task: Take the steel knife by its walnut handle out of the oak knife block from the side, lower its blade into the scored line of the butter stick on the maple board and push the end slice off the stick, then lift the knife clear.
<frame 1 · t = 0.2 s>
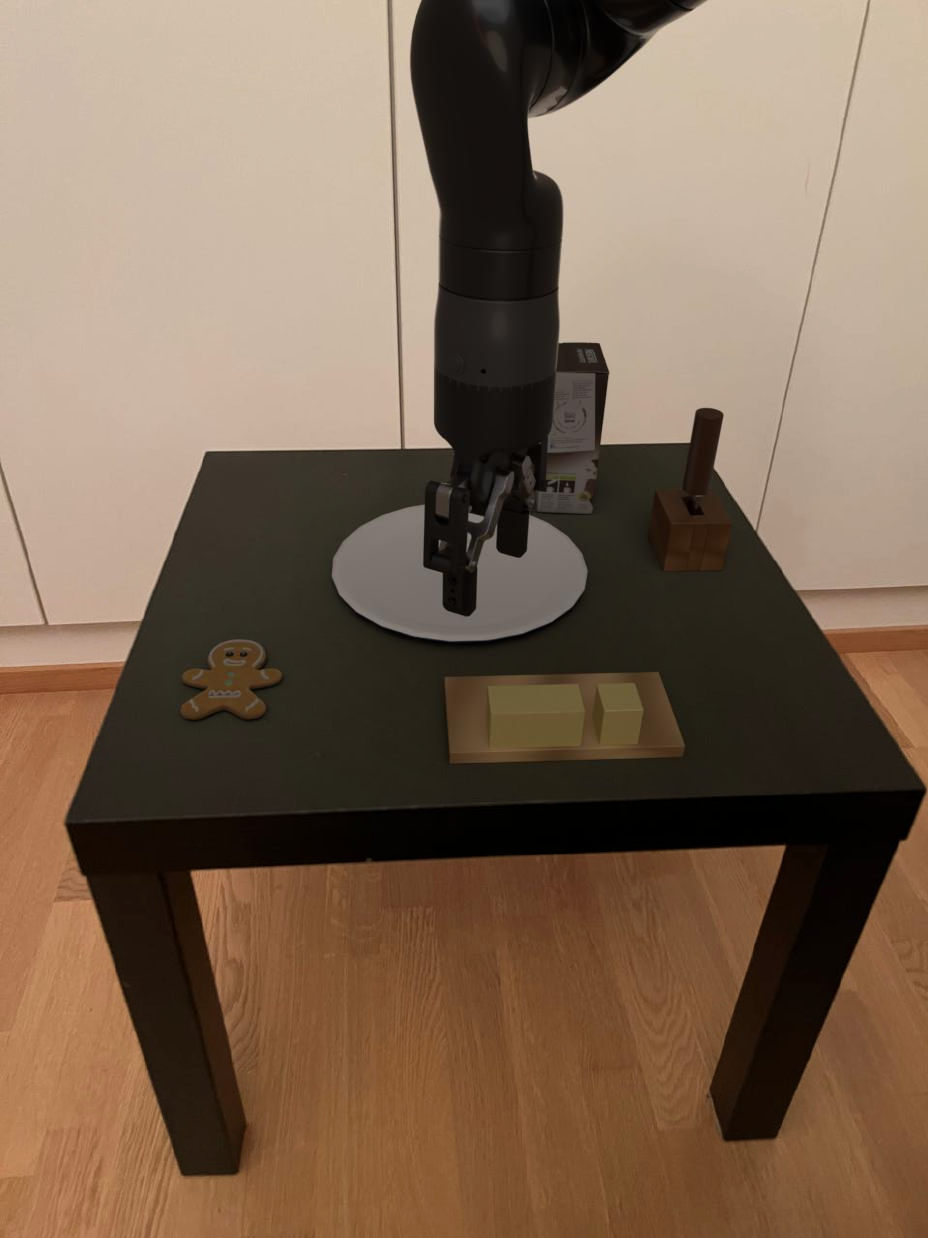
hand: (486, 580, 67), 14 cm above the table, tool pointing down, fingers open, 8 cm apart
knife block: (684, 552, 97), on the table
plate: (459, 574, 94), on the table
butter slice: (614, 730, 73), point 1 cm above the table, touching cutting board
butter: (532, 733, 73), point 1 cm above the table, touching cutting board
cookie: (232, 683, 79), on the table
cutting board: (558, 721, 76), on the table
knife: (696, 486, 93), in the knife block
coffee box: (562, 496, 107), on the table
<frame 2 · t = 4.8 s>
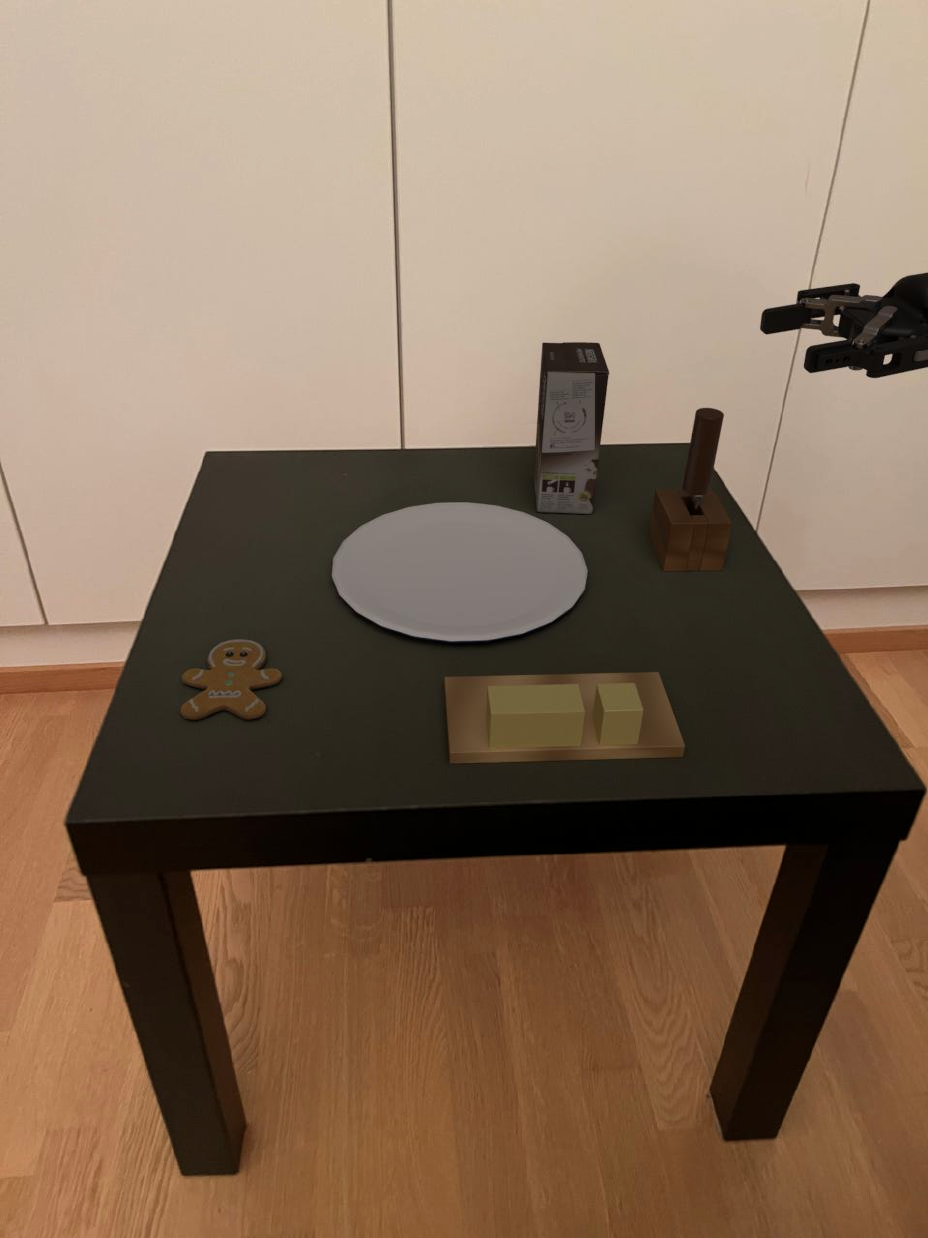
hand: (783, 340, 84), 23 cm above the table, tool horizontal, fingers open, 8 cm apart
nothing on the table moved.
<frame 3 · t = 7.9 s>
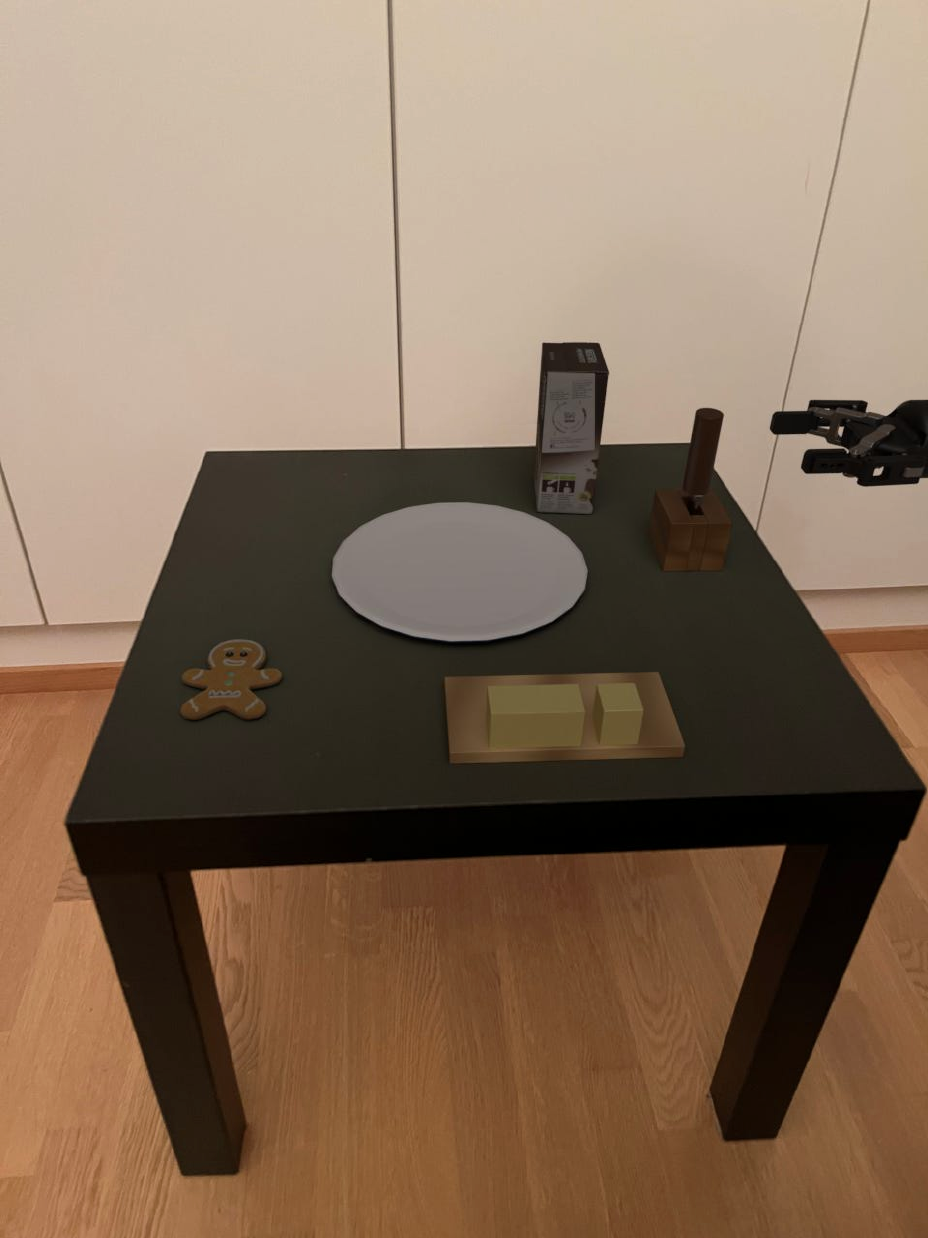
hand: (787, 441, 91), 12 cm above the table, tool horizontal, fingers open, 8 cm apart
nothing on the table moved.
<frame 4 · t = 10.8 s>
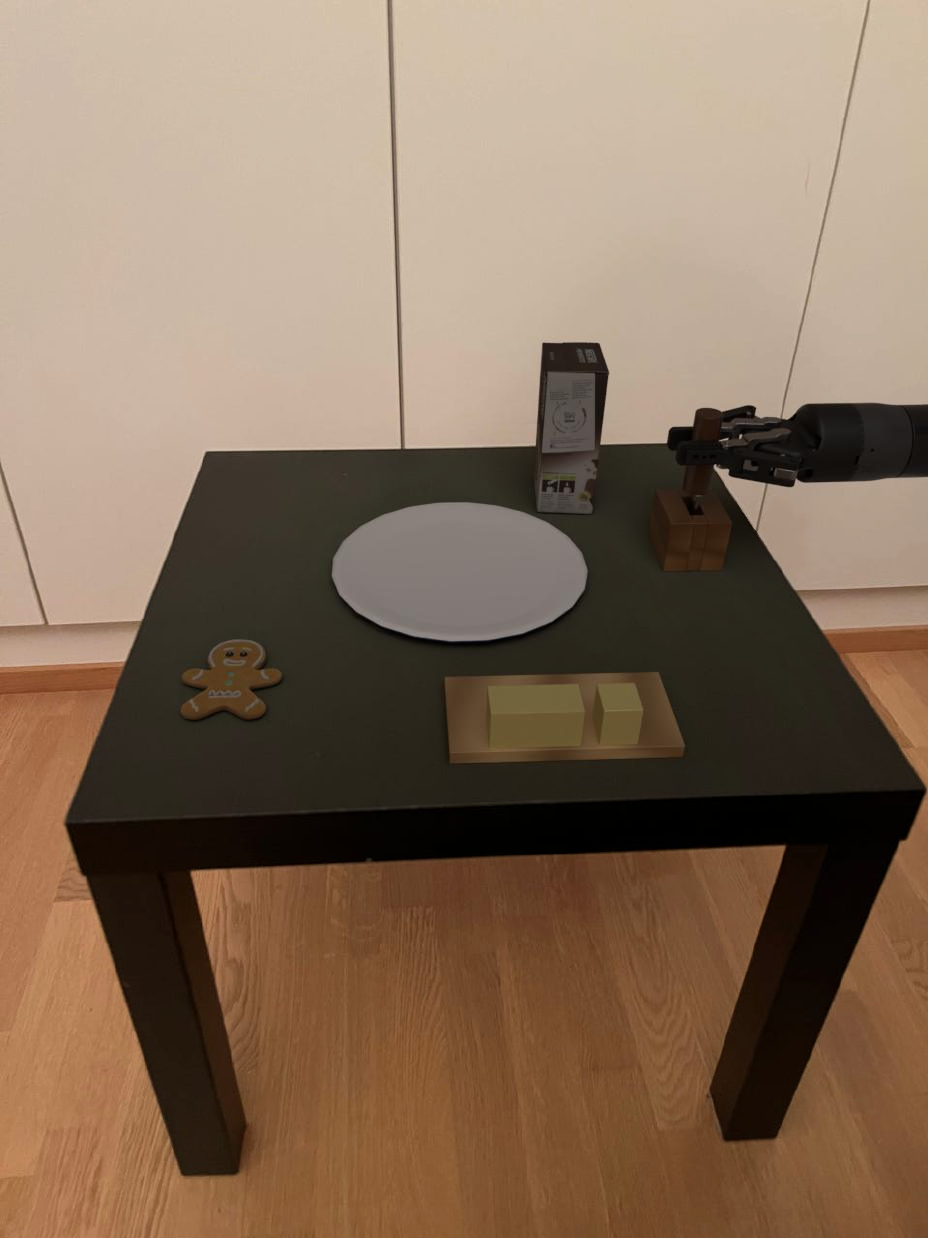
hand: (673, 446, 90), 12 cm above the table, tool horizontal, fingers closed on knife, 2 cm apart
knife: (696, 486, 93), in the knife block, touching gripper
everything else where it was.
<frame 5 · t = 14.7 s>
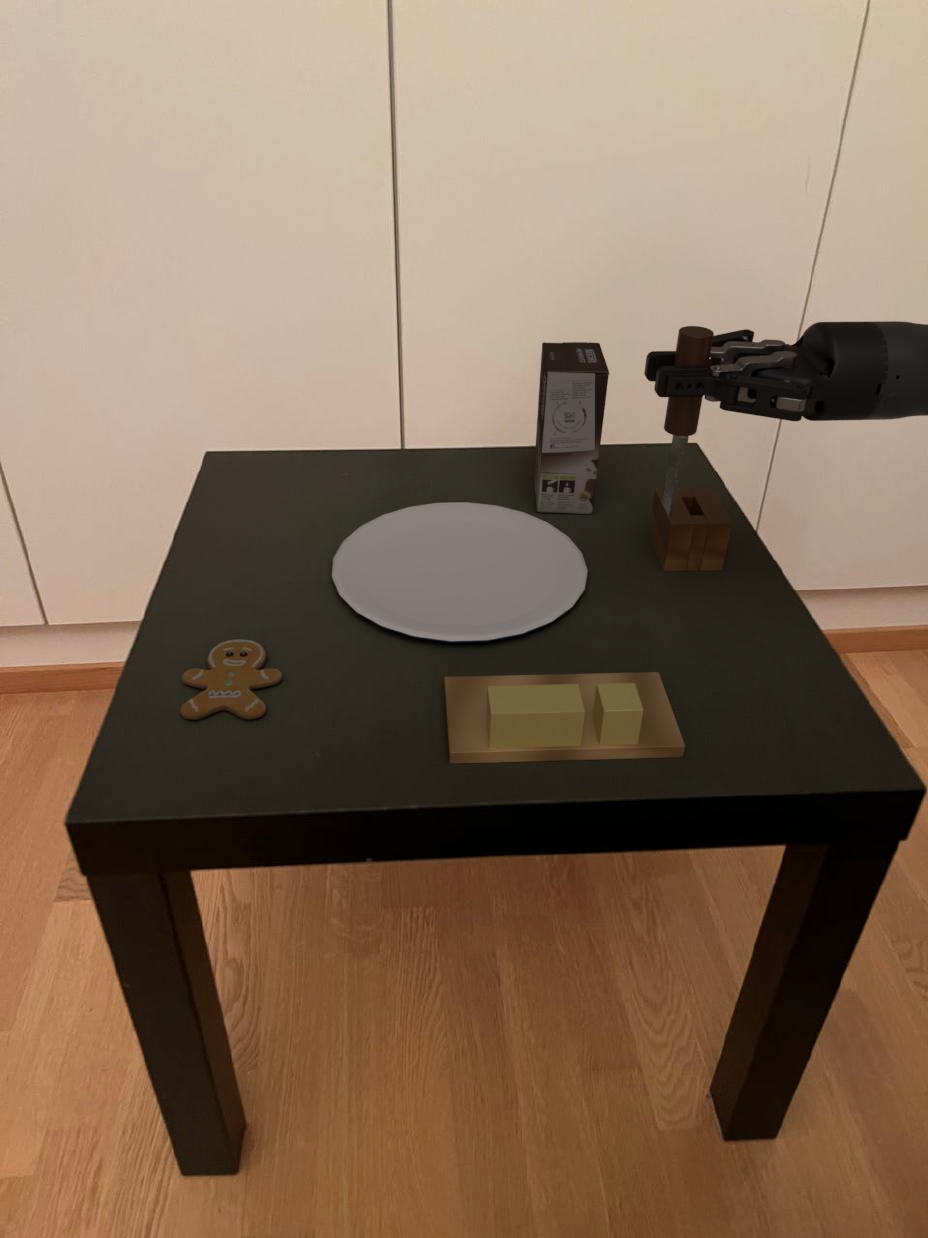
hand: (652, 374, 73), 24 cm above the table, tool horizontal, fingers closed on knife, 2 cm apart
knife: (680, 425, 76), point 19 cm above the table, touching gripper
everything else where it was.
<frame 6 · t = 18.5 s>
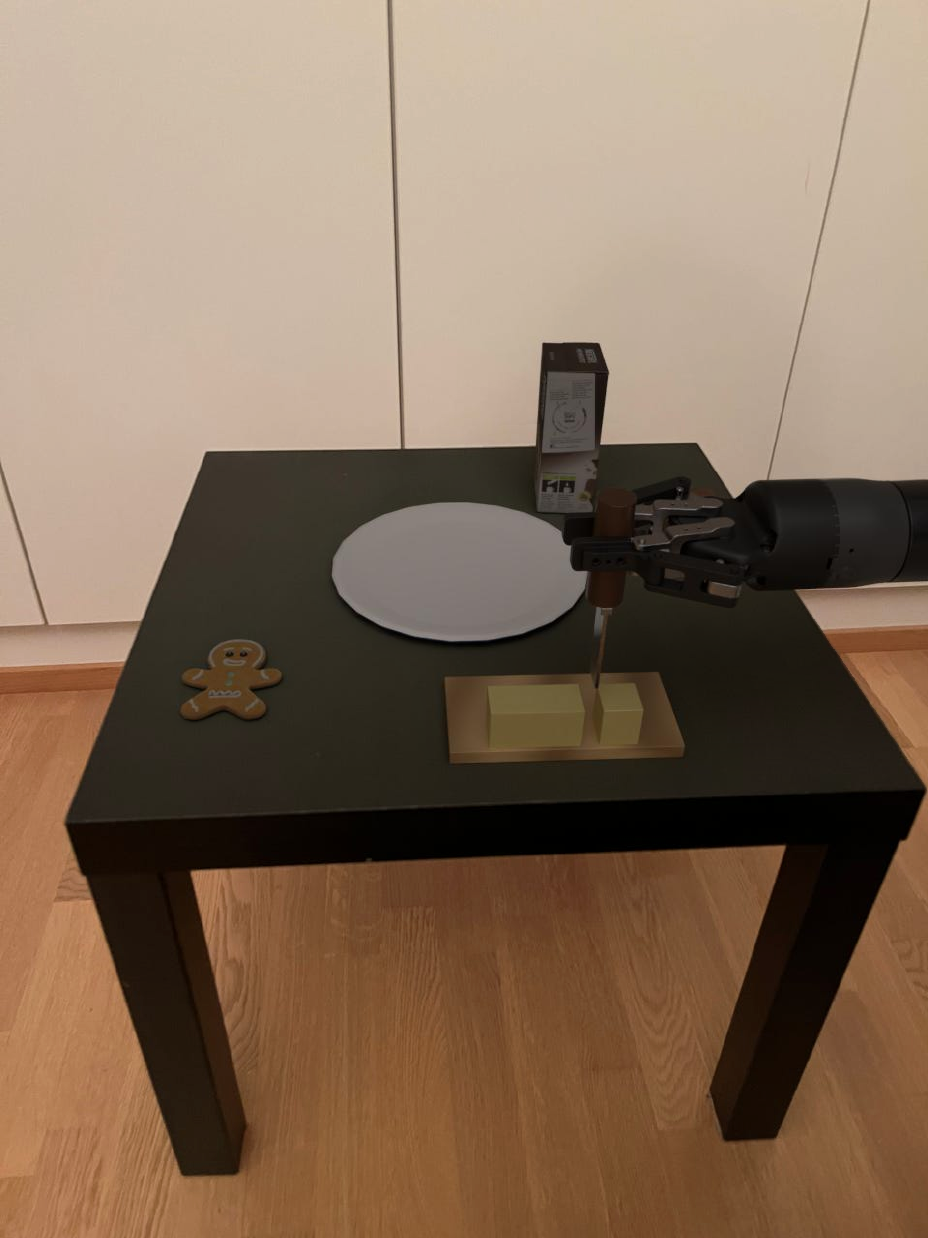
hand: (568, 541, 63), 18 cm above the table, tool horizontal, fingers closed on knife, 2 cm apart
knife: (604, 593, 66), point 14 cm above the table, touching gripper
everything else where it was.
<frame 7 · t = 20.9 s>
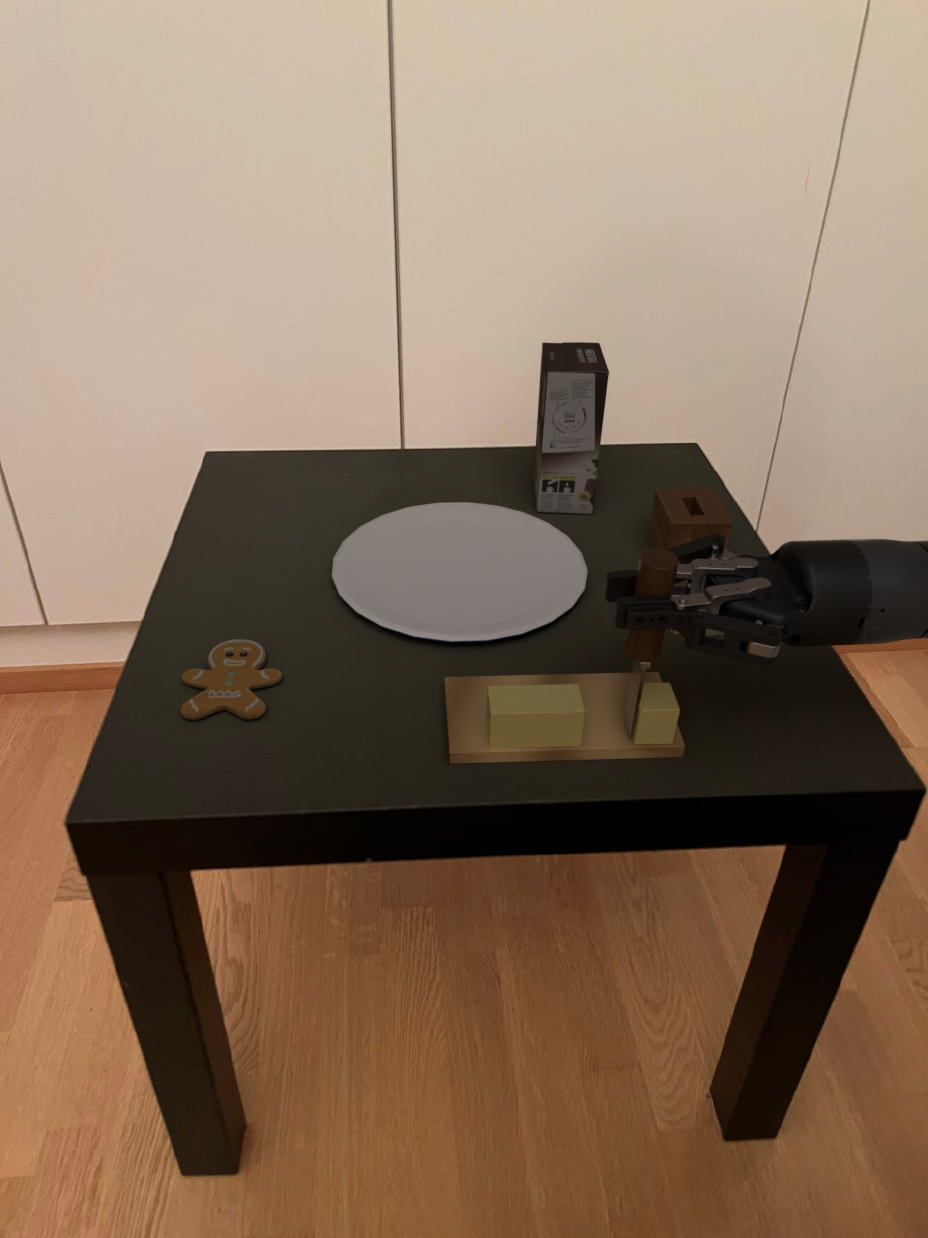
hand: (611, 600, 66), 14 cm above the table, tool horizontal, fingers closed on knife, 2 cm apart
butter slice: (648, 730, 74), point 1 cm above the table, touching cutting board, knife
knife: (643, 647, 69), point 9 cm above the table, touching butter slice, gripper
everything else where it was.
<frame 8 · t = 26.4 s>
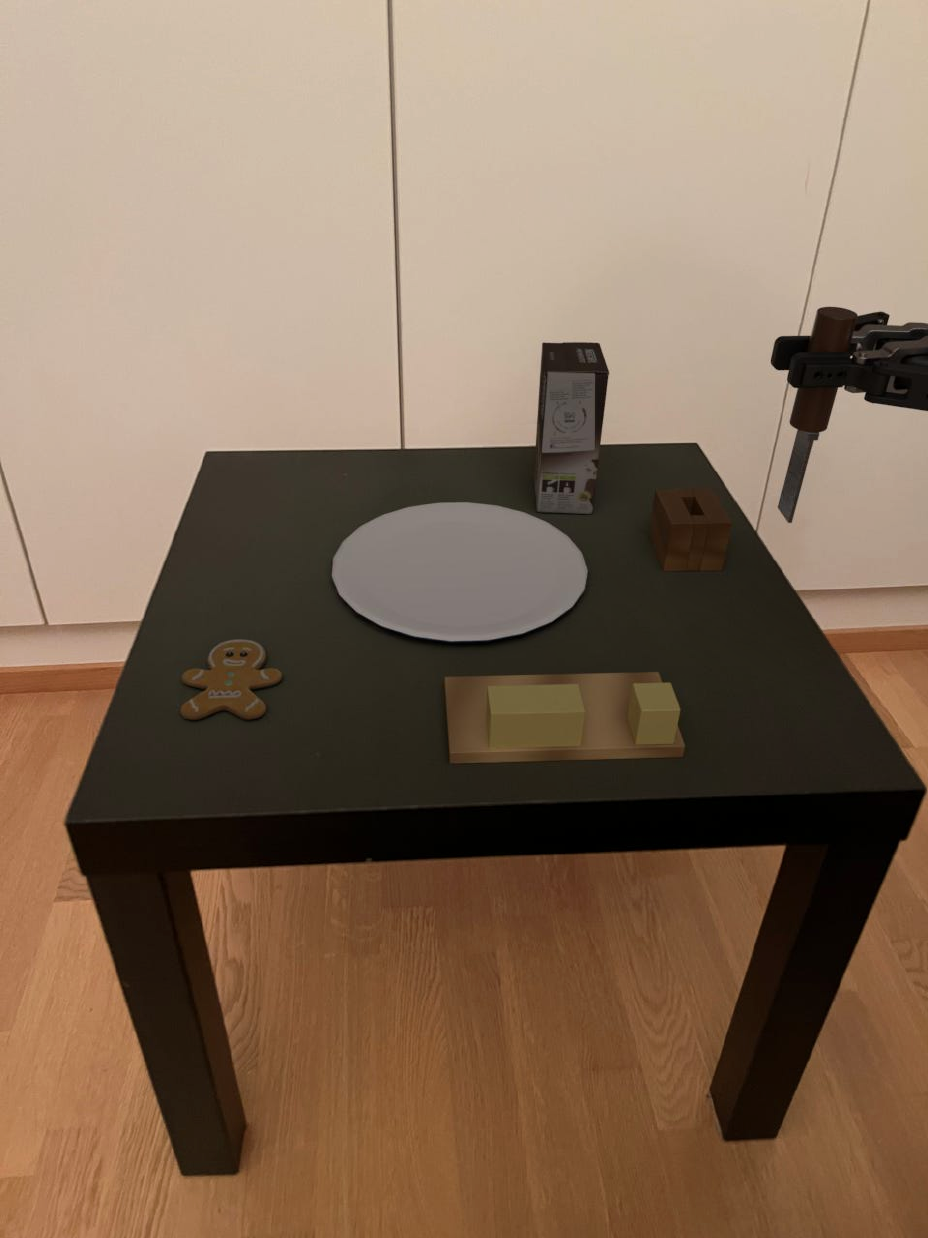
hand: (783, 361, 64), 28 cm above the table, tool horizontal, fingers closed on knife, 2 cm apart
butter slice: (650, 730, 74), point 1 cm above the table, touching cutting board
knife: (809, 420, 67), point 24 cm above the table, touching gripper
everything else where it was.
at the end: butter slice 0.5 cm from the target spot on the cutting board, point 1.2 cm above the cutting board's base; butter moved 0.0 cm from its start; the gripper is holding knife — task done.
